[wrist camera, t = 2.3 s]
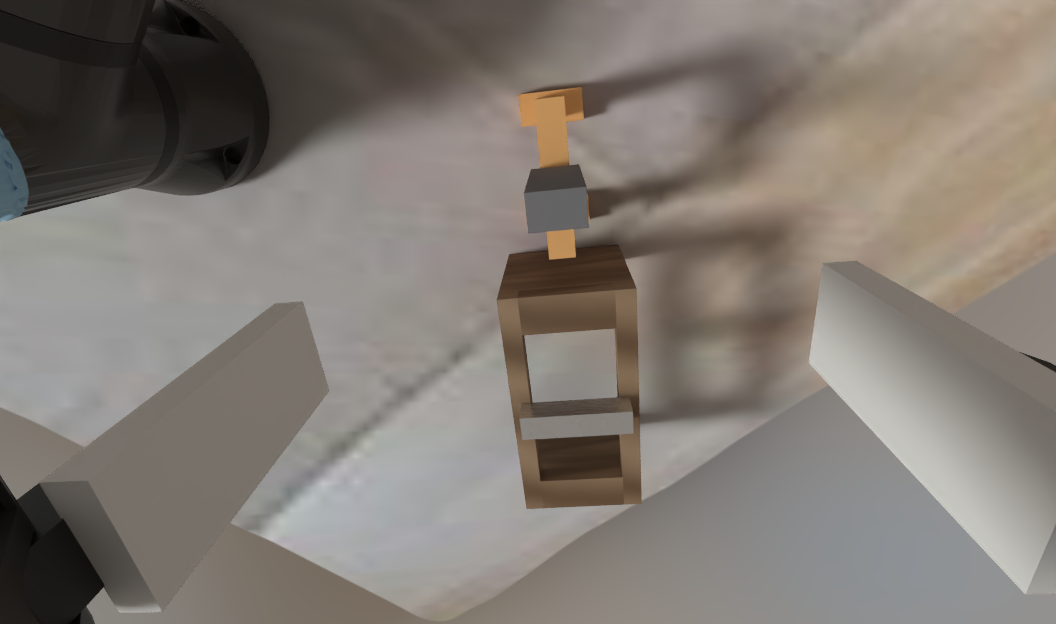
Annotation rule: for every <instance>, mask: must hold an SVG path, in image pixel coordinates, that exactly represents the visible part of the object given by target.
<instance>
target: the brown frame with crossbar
mask: <svg viewBox="0 0 1056 624" xmlns="http://www.w3.org/2000/svg"><path fill="white" fill-rule="evenodd" d="M575 251H576V257H573V258H562V259H550V260H549V251H544V252H533V253H522V254H511V255H509V257H508V261H507V264H506V268H505V272H504V275H503V279H502V283H501V286H500V290H499V293H498V297H497V305H498V312H499V319H500V326H501V333H502V340H503V347H504V354H505V361H506V368H507V375H508V382H509V389H510V396H511V403H512V410H513V417H514V424H515V431H516V438H517V445H518V451H519V458H520V465H521V472H522V479H523V486H524V493H525V500H526V507H527V509H534V508H556V507H578V506H600V505H622V504H641V503H642V502H641V460H640V417H639V375H638V332H637V290H636V286H635V284H634V281H633V279H632V276H631V274H630V272H629V269H628V267H627V265H626V262H625V260H624V257H623V255H622V253H621V250H620V248H619V245H611V246H600V247H589V248H577V249H575ZM612 328H615V345H616V368H617V391H618V397H629V398H630V402H631V406H632V410H633V430H634V434H619V435H601V436H584V437H567V438H549V439H532V440H522V433H521V426H520V419H519V418H520V409H521V404H523V403H532V395H531V387H530V379H529V370H528V362H527V354H526V346H525V338H524V335H533V334H546V333H560V332H573V331H586V330H599V329H612Z"/></svg>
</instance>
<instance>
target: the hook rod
mask: <svg viewBox="0 0 1056 624" xmlns="http://www.w3.org/2000/svg"><path fill="white" fill-rule="evenodd" d="M519 419H520V426H521V433H522V440H532V439H549V438H567V437H584V436H601V435H619V434H634V430H633V410H632V406H631V402H630V398H629V397H616V398H601V399H585V400H569V401H554V402H538V403H523V404H521V409H520V418H519Z"/></svg>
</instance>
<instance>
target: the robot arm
mask: <svg viewBox="0 0 1056 624" xmlns="http://www.w3.org/2000/svg"><path fill="white" fill-rule="evenodd" d="M268 130H269V111H268V104H267V98H266V94H265V90H264V87H263V84H262V81H261V79H260V76H259V74H258V72H257V70H256V67H255V66H254V64H253V62H252V60H251V58H250V57H249V55H248V54H247V52H246V51H245V49H244V48H243V46H242V45H241V44H240V43H239V41H238V40H237V39H236V38H235V37H234V36H233V35H232V33H231V32H230V31H229V30H228V29H227V28H226V27H224V26H223V25H222V24H221V23H220V22H219V21H217V20H216V19H215V18H214V17H212V16H211V15H209V14H208V13H206V12H205V11H203V10H201V9H200V8H198V7H196V6H194V5H192V4H189V3H187V2H184V1H181V0H0V222H1V221H8V220H11V219H14V218H17V217H19V216H23V215H27V214H31V213H35V212H39V211H43V210H47V209H51V208H55V207H59V206H63V205H67V204H71V203H75V202H79V201H83V200H87V199H91V198H95V197H99V196H102V195H106V194H110V193H114V192H118V191H122V190H126V189H130V188H139V189H145V190H151V191H157V192H162V193H168V194H174V195H201V194H207V193H211V192H214V191H218V190H221V189H224V188H227V187H230V186H232V185H234V184H236V183H238V182H239V181H241V180H242V179H244V178H245V177H246V176H247V175H248V174H249V173H250V172H251V171H252V170H253V169H254V168H255V166H256V165H257V163H258V162H259V160H260V158H261V156H262V154H263V152H264V149H265V146H266V142H267V137H268ZM809 364H810V365H811V366H812V367H813V368H814V369H815V370H816V371H817V372H818V373H819V374H820V376H821V377H822V378H823V379H824V380H825V381H826V382H827V383H828V384H829V385H830V386H831V387H832V388H833V389H834V390H835V391H836V393H837V394H838V395H839V396H840V397H841V398H842V399H843V400H844V401H845V402H846V403H847V404H848V405H849V406H850V407H851V409H853V411H854V412H855V413H856V414H857V415H858V416H859V417H860V418H861V419H862V420H863V421H864V422H865V424H866V425H868V427H869V428H870V429H871V430H872V431H873V432H874V433H875V434H876V435H877V436H878V437H879V439H881V441H882V442H883V443H884V444H885V445H886V446H887V447H888V448H889V449H890V450H891V451H892V452H893V453H894V455H895V456H897V458H898V459H899V460H900V461H901V462H902V463H903V464H904V465H905V466H906V467H907V468H908V469H909V471H910V472H912V474H913V475H914V476H915V477H916V478H917V479H918V480H919V481H920V482H921V483H922V484H923V485H924V487H925V488H926V489H927V490H928V491H929V492H930V493H931V494H932V495H933V496H934V497H935V498H936V499H937V500H938V501H939V502H940V504H941V505H942V506H943V507H944V508H945V509H946V510H947V511H948V512H949V513H950V514H951V515H952V516H953V518H954V519H955V520H956V521H957V522H958V523H959V524H960V525H961V526H962V527H963V528H964V529H965V530H966V531H967V532H968V534H969V535H970V536H971V537H972V538H973V539H974V540H975V541H976V542H977V543H978V544H979V545H980V546H981V547H982V548H983V550H985V552H986V553H987V554H988V555H989V556H990V557H991V558H992V559H993V560H994V561H995V562H996V563H997V564H998V565H999V567H1000V568H1001V569H1002V570H1003V571H1004V572H1005V573H1006V574H1007V575H1008V576H1009V577H1010V578H1011V579H1012V581H1013V582H1014V583H1015V584H1016V585H1017V586H1018V587H1019V588H1020V589H1021V590H1022V591H1023V592H1024V593H1025V594H1056V366H1055V365H1053V364H1051V363H1049V362H1047V361H1044V360H1041V359H1038V358H1035V357H1032V356H1030V355H1027V354H1024V353H1021V352H1018V351H1016V350H1015V349H1013V348H1011V347H1009V346H1008V345H1006V344H1004V343H1002V342H1000V341H998V340H997V339H995V338H993V337H991V336H989V335H988V334H986V333H984V332H982V331H981V330H979V329H977V328H975V327H974V326H972V325H970V324H968V323H966V322H965V321H963V320H961V319H959V318H958V317H956V316H954V315H952V314H950V313H949V312H947V311H945V310H943V309H942V308H940V307H938V306H936V305H934V304H933V303H931V302H929V301H927V300H925V299H924V298H922V297H920V296H918V295H917V294H915V293H913V292H911V291H909V290H908V289H906V288H904V287H902V286H900V285H899V284H897V283H895V282H893V281H892V280H890V279H888V278H886V277H884V276H883V275H881V274H879V273H877V272H875V271H874V270H872V269H870V268H868V267H867V266H865V265H863V264H861V263H859V262H858V261H847V262H833V263H823V267H822V274H821V281H820V288H819V295H818V302H817V309H816V316H815V323H814V330H813V337H812V344H811V351H810V358H809ZM328 392H329V388H328V384H327V381H326V378H325V374H324V371H323V368H322V364H321V361H320V358H319V354H318V351H317V347H316V344H315V341H314V337H313V334H312V331H311V327H310V324H309V321H308V317H307V314H306V311H305V307H304V304H303V302H290V303H276V304H274V305H273V306H271V307H270V308H269V309H267V310H266V311H265V312H263V313H262V314H261V315H259V316H258V317H257V318H255V319H254V320H253V321H251V322H250V323H249V324H248V325H246V326H245V327H244V328H242V329H241V330H240V331H238V332H237V333H236V334H234V335H233V336H232V337H230V338H229V339H228V340H226V341H225V342H224V343H222V344H221V345H220V346H218V347H217V348H216V349H214V350H213V351H212V352H211V353H209V354H208V355H207V356H205V357H204V358H203V359H201V360H200V361H199V362H197V363H196V364H195V365H193V366H192V367H191V368H189V369H188V370H187V371H185V372H184V373H183V374H181V375H180V376H179V377H178V378H176V379H175V380H174V381H172V382H171V383H170V384H168V385H167V386H166V387H164V388H163V389H162V390H160V391H159V392H158V393H156V394H155V395H154V396H152V397H151V398H150V399H148V400H147V401H146V402H144V403H143V404H142V405H141V406H139V407H138V408H137V409H135V410H134V411H133V412H131V413H130V414H129V415H127V416H126V417H125V418H123V419H122V420H121V421H119V422H118V423H117V424H115V425H114V426H113V427H111V428H110V429H109V430H108V431H106V432H105V433H104V434H102V435H101V436H100V437H98V438H97V439H96V440H94V441H93V442H92V443H90V444H89V445H88V446H86V447H85V448H84V449H82V450H81V451H80V452H78V454H76V455H74V456H73V457H72V458H71V459H69V460H68V461H67V462H65V463H64V464H63V465H61V466H60V467H59V468H57V469H56V470H55V471H53V472H52V473H51V474H50V475H48V476H47V477H45V478H44V479H43V480H42V481H40V482H39V484H37V485H36V486H35V487H33V488H32V489H31V490H29V491H28V492H27V493H25V494H24V495H23V496H22V497H20V498H19V499H18V500H16V499H15V497H14V496H13V494H12V493H11V491H10V490H9V488H8V486H7V485H6V483H5V482H4V480H3V479H2V477H1V476H0V624H95V623H94V620H93V617H92V615H91V613H90V612H89V610H88V609H87V607H86V606H87V604H89V602H90V601H91V600H92V599H93V598H94V597H95V596H96V595H97V594H98V593H99V591H100V590H101V589H102V588H103V587H104V588H105V590H106V592H107V594H108V595H109V597H110V598H111V600H112V602H113V603H114V605H115V606H116V608H117V610H118V611H119V612H120V613H125V612H162V611H163V610H164V609H165V608H166V607H167V605H168V604H169V602H170V601H171V600H172V599H173V597H174V596H175V595H176V593H177V592H178V591H179V589H180V588H181V587H182V585H183V584H184V583H185V581H186V580H187V579H188V577H189V576H190V575H191V573H192V572H193V571H194V569H195V568H196V567H197V566H198V564H199V563H200V561H201V560H202V559H203V557H204V556H205V555H206V554H207V552H208V551H209V550H210V548H211V547H212V546H213V544H214V543H215V542H216V540H217V539H218V538H219V536H220V535H221V533H222V532H223V531H224V530H225V528H226V527H227V526H228V524H229V523H230V522H231V520H232V519H233V518H234V516H235V515H236V514H237V512H238V511H239V510H240V509H241V507H242V506H243V505H244V503H245V502H246V501H247V499H248V498H249V497H250V495H251V494H252V493H253V491H254V490H255V489H256V487H257V486H258V485H259V483H260V482H261V481H262V479H263V478H264V477H265V475H266V474H267V473H268V471H269V470H270V469H271V467H272V466H273V465H274V463H275V462H276V461H277V459H278V458H279V457H280V455H281V454H282V453H283V451H284V450H285V449H286V448H287V446H288V445H289V444H290V442H291V441H292V440H293V438H294V437H295V436H296V434H297V433H298V432H299V430H300V429H301V428H302V426H303V425H304V424H305V422H306V421H307V420H308V418H309V417H310V416H311V414H312V413H313V412H314V410H315V409H316V408H317V406H318V405H319V404H320V402H321V401H322V400H323V398H324V397H325V396H326V394H327V393H328Z"/></svg>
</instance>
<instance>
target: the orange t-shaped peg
mask: <svg viewBox="0 0 1056 624" xmlns="http://www.w3.org/2000/svg"><path fill="white" fill-rule="evenodd" d="M518 97H519V106H520V116H521V125H522V127H524V126H533V125H537V136H538V146H539V157H540V167H541V168H540V169H531V171H530V175H529V178H528V182H527V185H526V188H525V192H524V197H525V206H526V215H527V224H528V233H538V232H547V241H548V251H549V260H550V259H562V258H573V257H576V251H575V237H574V229H581V228H589V223H590V215H589V198H588V193H587V188H586V184H585V181H584V178H583V175H582V172H581V169H580V166H579V164H578V165H569V155H568V141H567V127H566V122H569V121H578V120H584V114H583V97H582V87H578V88H569V89H561V90H553V91H544V92H536V93H527V94H519V95H518Z"/></svg>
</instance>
